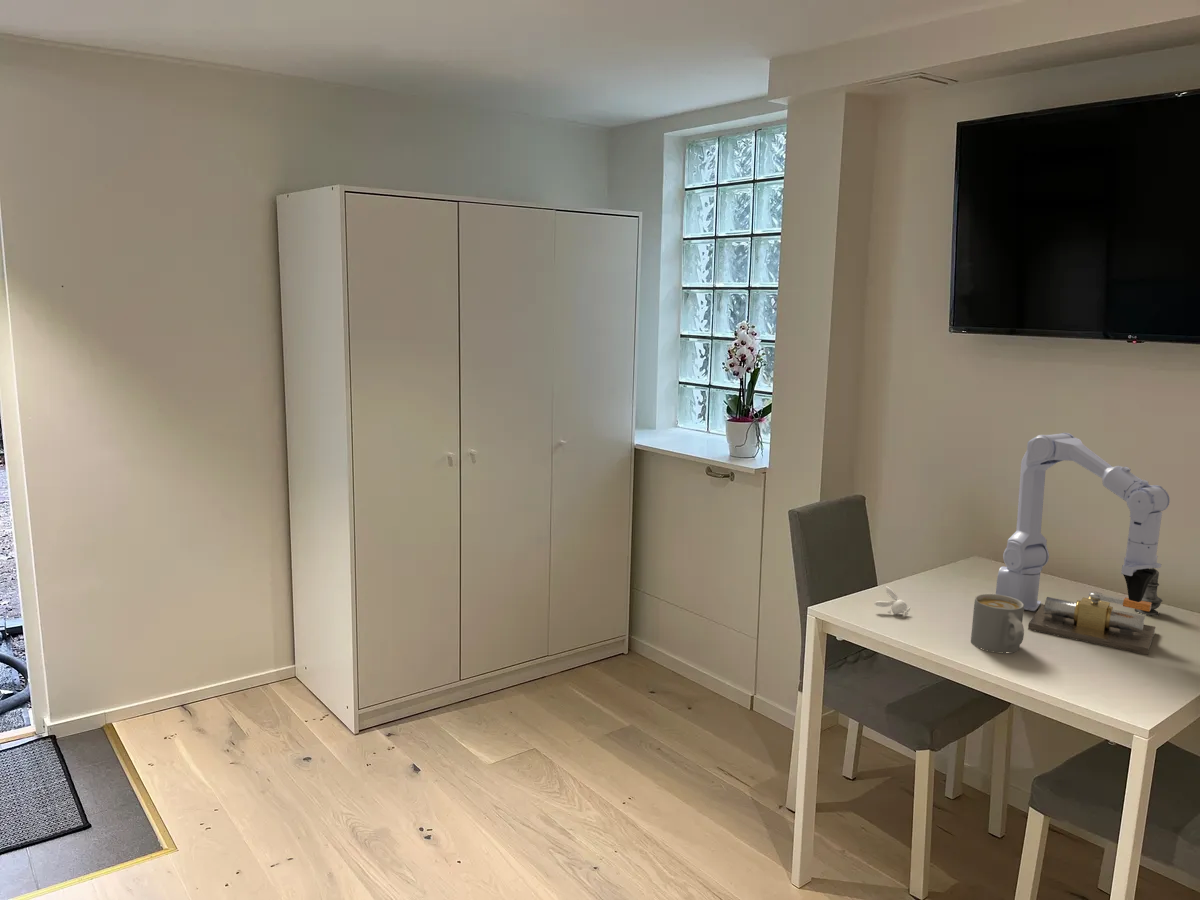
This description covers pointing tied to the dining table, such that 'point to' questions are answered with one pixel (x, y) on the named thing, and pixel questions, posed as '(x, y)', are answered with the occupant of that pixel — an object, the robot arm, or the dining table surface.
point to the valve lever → (1121, 601)
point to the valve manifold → (1094, 624)
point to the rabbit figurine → (894, 603)
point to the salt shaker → (1151, 596)
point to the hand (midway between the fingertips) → (1135, 600)
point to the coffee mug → (997, 623)
